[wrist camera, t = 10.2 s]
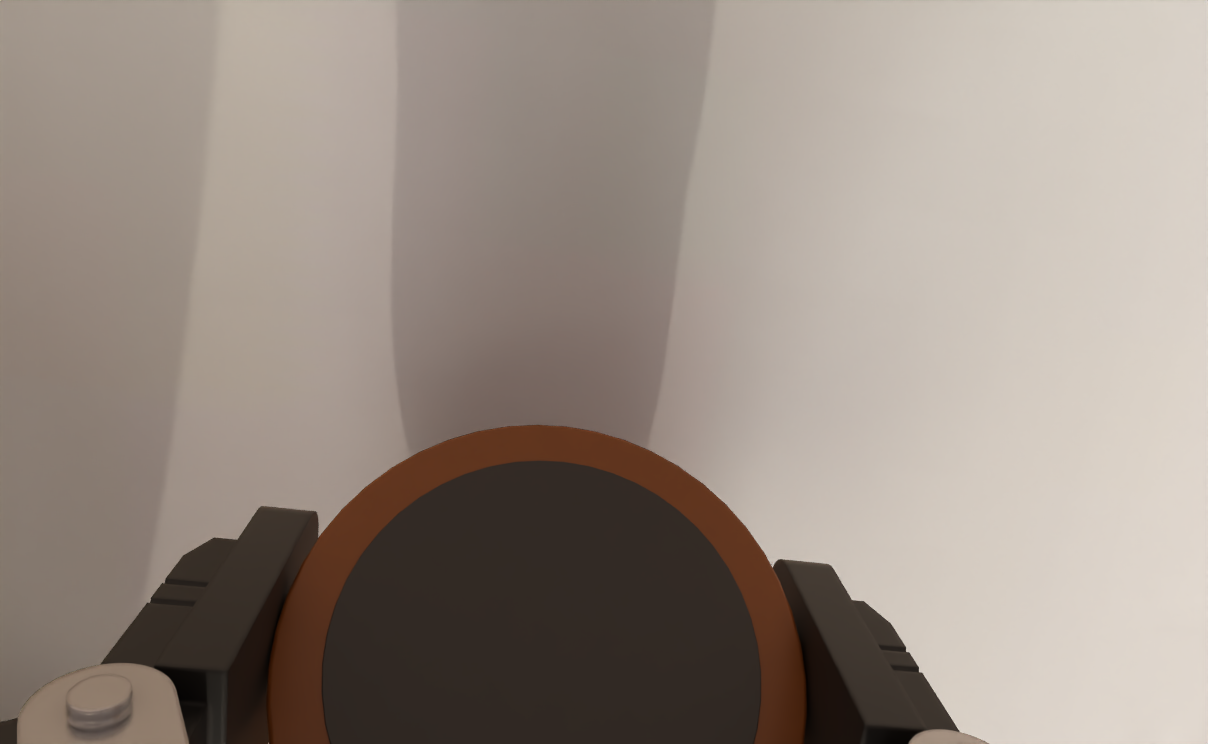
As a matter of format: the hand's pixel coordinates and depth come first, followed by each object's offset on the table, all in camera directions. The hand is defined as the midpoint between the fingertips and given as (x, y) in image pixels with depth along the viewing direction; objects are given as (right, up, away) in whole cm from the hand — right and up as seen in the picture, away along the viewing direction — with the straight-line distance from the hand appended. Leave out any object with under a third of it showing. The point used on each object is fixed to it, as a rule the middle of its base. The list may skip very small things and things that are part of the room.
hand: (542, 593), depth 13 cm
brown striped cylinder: (0, 0, +4) cm, 4 cm away
